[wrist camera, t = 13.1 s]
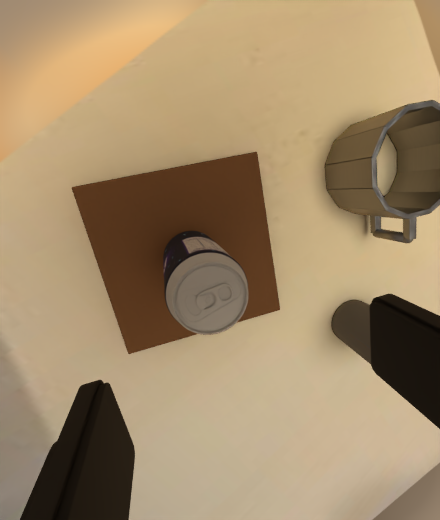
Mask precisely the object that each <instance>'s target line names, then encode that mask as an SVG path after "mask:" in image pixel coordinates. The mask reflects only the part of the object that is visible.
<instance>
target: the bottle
mask: <svg viewBox="0 0 440 520" xmlns="http://www.w3.org/2000/svg"><path fill="white" fill-rule="evenodd" d="M369 307H370V305H368V304H366V303H364V302H362V301H359V300H351V301H348V302H346V303H344V304H343V305H341V306H340V307H339V308H338V309H337V311H336V312H335V314H334V316H333V319H332V329H333V332H334V334H335V335H336V336H337V337H338V338H339V339H341V340H342V341H343V342H344V343H345V344H347V345H348V346H349V347H350V348H351V349H353V350H354V351H355V352H356V353H358V354H359V355H360V356H361V357H362V358H364V359H365V360H366V361H367V362H369V363H370V364H371V347H370V311H369Z"/></svg>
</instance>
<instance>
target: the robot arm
mask: <svg viewBox="0 0 440 520" xmlns="http://www.w3.org/2000/svg"><path fill="white" fill-rule="evenodd" d="M369 311H370V347H371V366H372V368H373V370H374V372H375V373H376V374H377V375H378V376H379V377H380V378H382V379H383V380H384V381H385V382H386V383H387V384H389V385H390V386H391V387H392V388H393V389H394V390H395V391H397V392H398V393H399V394H400V395H401V396H402V397H404V398H405V399H406V400H407V401H408V402H409V403H410V404H412V405H413V406H414V407H415V408H416V409H417V410H419V411H420V412H421V413H422V414H423V415H424V416H425V417H427V418H428V419H429V420H430V421H431V422H432V423H434V424H435V425H436V426H437V427H438V428H439V429H440V316H439V315H436V314H434V313H432V312H430V311H428V310H426V309H423V308H421V307H419V306H417V305H415V304H412V303H410V302H408V301H406V300H404V299H402V298H399V297H397V296H395V295H393V294H386V295H383V296H379V297H376V298H374V299H373V300H372V303H371V304H370V307H369ZM134 460H135V451H134V445H133V442H132V440H131V437H130V434H129V432H128V429H127V427H126V424H125V422H124V419H123V417H122V414H121V411H120V409H119V406H118V404H117V401H116V399H115V396H114V394H113V391H112V388H111V386H110V384H109V383H103V381H102V380H98V381H94V382H91V383H88V384H84V385H82V386H80V388H79V390H78V392H77V395H76V397H75V400H74V402H73V404H72V407H71V409H70V412H69V414H68V416H67V419H66V421H65V424H64V426H63V428H62V431H61V433H60V436H59V438H58V441H56V442H55V443H54V444H53V445H52V447H51V449H50V451H49V453H48V455H47V458H46V460H45V462H44V465H43V467H42V469H41V472H40V474H39V476H38V479H37V481H36V483H35V486H34V488H33V490H32V493H31V495H30V497H29V500H28V502H27V504H26V507H25V509H24V511H23V514H22V516H21V518H20V520H128V519H129V509H130V500H131V490H132V480H133V470H134Z"/></svg>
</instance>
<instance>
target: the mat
mask: <svg viewBox="0 0 440 520" xmlns="http://www.w3.org/2000/svg"><path fill="white" fill-rule="evenodd" d="M72 190H73V193H74V196H75V199H76V202H77V205H78V208H79V211H80V213H81V216H82V219H83V222H84V225H85V228H86V231H87V234H88V237H89V240H90V243H91V246H92V248H93V251H94V254H95V257H96V260H97V263H98V266H99V269H100V272H101V275H102V278H103V281H104V283H105V286H106V289H107V292H108V295H109V298H110V301H111V304H112V307H113V310H114V313H115V316H116V318H117V321H118V324H119V327H120V330H121V333H122V336H123V339H124V342H125V345H126V348H127V351H128V353H129V354H131V353H134V352H138V351H141V350H144V349H148V348H151V347H155V346H158V345H161V344H165V343H168V342H172V341H175V340H178V339H182V338H185V337H189V336H192V335H196V334H197V333H194V332H192V331H190V330H188V329H186V328H185V327H183V326H182V325H181V324H180V323H179V322H178V321H176V320H175V319H174V318H173V316H172V315H171V314H170V312H169V310H168V308H167V305H166V302H165V293H164V267H163V255H164V250H165V248H166V246H167V244H168V243H169V241H170V240H171V239H172V238H173V237H174V236H176V235H178V234H180V233H182V232H185V231H198V232H201V233H204V234H206V235H207V236H209V237H210V238H211V239H212V240H213V241H214V242H216V243H217V244H218V245H219V246H220V247H221V248H222V249H223V250H224V251H226V252H227V253H228V254H229V255H230V256H231V257H232V258H233V259H235V260H236V261H237V262H238V263H239V264H240V266H241V267H242V268H243V270H244V272H245V274H246V277H247V281H248V303H247V306H246V309H245V311H244V314H243V315H242V317H241V318H240V319H239V320H238V321H237V322H240V321H243V320H247V319H250V318H254V317H257V316H260V315H264V314H267V313H271V312H274V311H277V310H280V306H279V299H278V292H277V286H276V279H275V272H274V265H273V258H272V251H271V244H270V238H269V231H268V224H267V217H266V210H265V203H264V197H263V190H262V183H261V176H260V169H259V162H258V156H257V152H253V153H248V154H243V155H238V156H233V157H227V158H222V159H217V160H212V161H206V162H201V163H196V164H191V165H186V166H180V167H175V168H170V169H165V170H159V171H154V172H149V173H144V174H139V175H133V176H128V177H123V178H118V179H112V180H107V181H102V182H97V183H92V184H86V185H81V186H76V187H72Z"/></svg>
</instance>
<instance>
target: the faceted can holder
mask: <svg viewBox="0 0 440 520" xmlns="http://www.w3.org/2000/svg"><path fill="white" fill-rule="evenodd" d="M386 133H388V134H389V136H390V138H391V140H392V142H393V144H394V146H395V148H396V150H397V175H396V177H395V180H394V182H393V184H392V187H391V189H390V191H389V193H388V194H387V195H386V196H385V197H383V195H382V193H381V192H380V190H379V188H378V187H377V163H376V157H377V155H378V152H379V150H380V148H381V145H382V143H383V140H384V138H385V135H386ZM325 174H326V186H327V191H328V192H329V194H330V195H331V197H332V198H333V200H334V201H335V203H336V204H337V206H338V207H339V208H342V209H344V210H347V211H350V212H352V213H355V214H361V215H370V224H371V233H373V236H375V237H378V238H383V239H388V240H393V241H398V242H403V243H410V242H412V241H413V239H415V238H416V217H418V216H422V215H426V214H430V213H431V212H432V211H433V210H434V209H436V208H437V207H438V206H439V205H440V104H439V103H438V102H436V101H434V100H430V101H424V102H418V103H413V104H408V105H405V106H402V107H399V108H396V109H394V110H391V111H388V112H385V113H383V114H380V115H377V116H374V117H372V118H369V119H366V120H363V121H361V122H358V123H355V124H353V125H351V126H350V127H349V128H348V129H347V130H345V131H344V132H343V133H342V134H341V135H340V136H339V137H338V138H337V139H336V140H335V142H333V145H332V148H331V150H330V153H329V156H328V158H327V161H326V164H325ZM381 217H390V218H399V219H403V233H402V232H396V231H389V230H383V229H381Z"/></svg>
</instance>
